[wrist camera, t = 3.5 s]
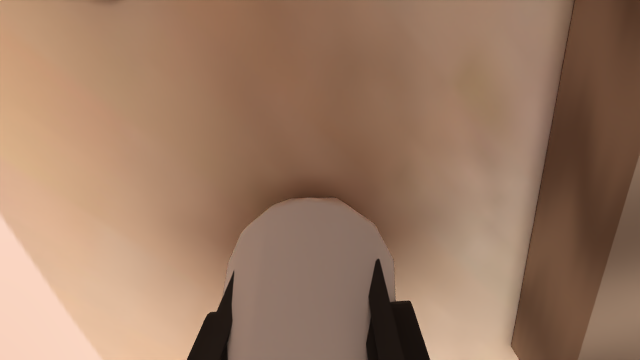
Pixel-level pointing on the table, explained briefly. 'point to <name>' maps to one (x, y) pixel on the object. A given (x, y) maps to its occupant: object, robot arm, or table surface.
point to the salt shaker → (305, 282)
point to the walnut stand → (589, 200)
